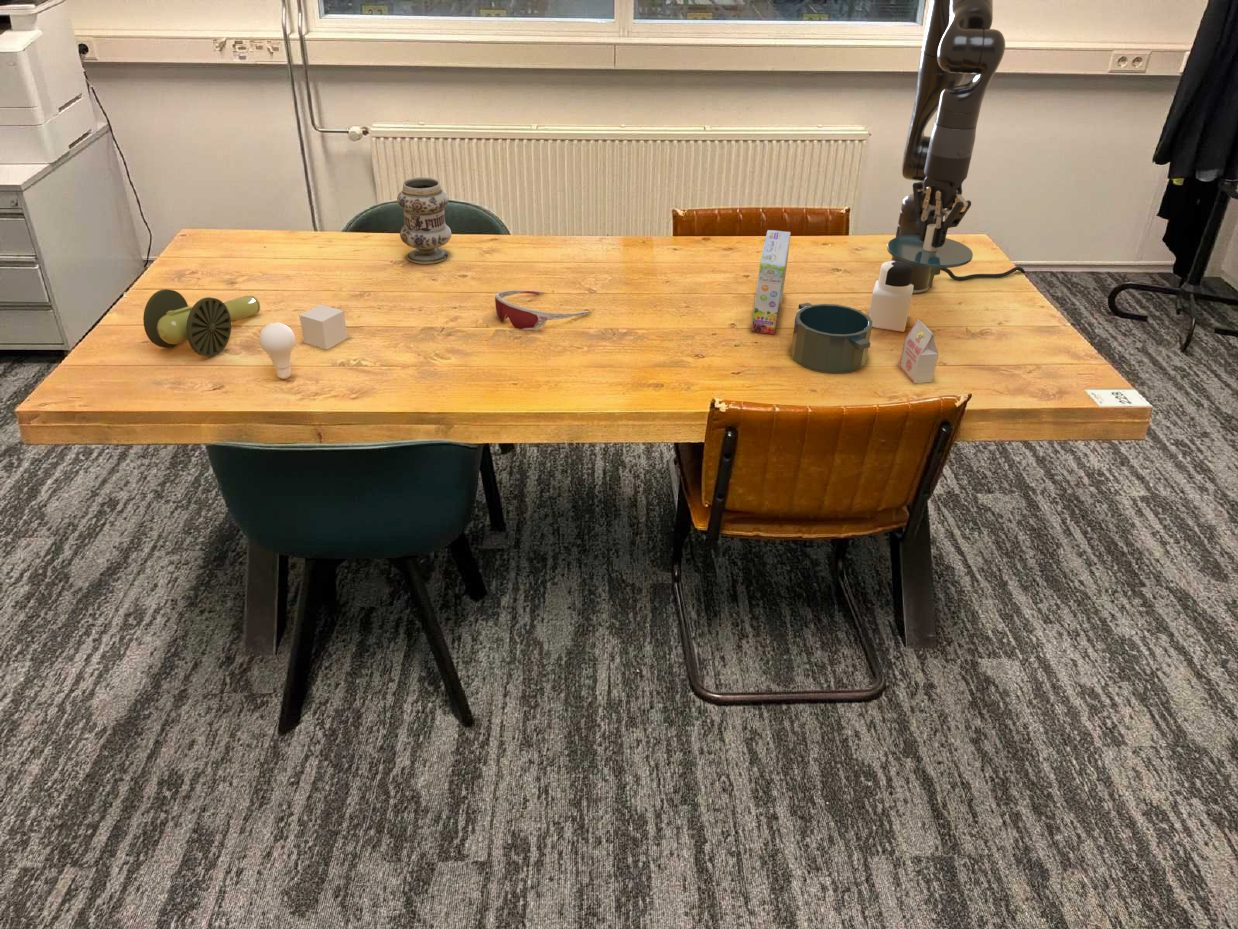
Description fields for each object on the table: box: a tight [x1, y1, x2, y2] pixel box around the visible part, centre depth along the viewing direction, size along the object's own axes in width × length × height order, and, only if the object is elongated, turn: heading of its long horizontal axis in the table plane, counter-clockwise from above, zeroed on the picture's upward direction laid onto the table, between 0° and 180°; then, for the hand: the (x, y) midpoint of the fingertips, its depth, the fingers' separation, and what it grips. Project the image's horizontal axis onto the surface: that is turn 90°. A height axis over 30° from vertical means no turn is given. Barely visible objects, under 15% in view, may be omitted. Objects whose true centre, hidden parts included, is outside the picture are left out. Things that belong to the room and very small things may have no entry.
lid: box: [886, 224, 974, 269], centre depth 177 cm, size 16×16×6 cm
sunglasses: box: [494, 289, 589, 331], centre depth 200 cm, size 17×17×5 cm
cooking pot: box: [790, 302, 873, 374], centre depth 185 cm, size 15×20×8 cm
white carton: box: [898, 318, 939, 384], centre depth 179 cm, size 4×7×10 cm, turn 9°
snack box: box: [750, 229, 792, 335], centre depth 199 cm, size 21×6×15 cm, turn 168°
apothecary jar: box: [396, 177, 452, 265], centre depth 222 cm, size 12×12×18 cm
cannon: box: [142, 288, 261, 358], centre depth 186 cm, size 25×12×11 cm, turn 160°
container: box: [868, 260, 914, 333], centre depth 197 cm, size 8×8×13 cm
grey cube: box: [298, 304, 349, 350], centre depth 188 cm, size 6×6×6 cm
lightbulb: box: [258, 322, 296, 380], centre depth 173 cm, size 6×6×11 cm
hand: (931, 243), depth 178 cm, fingers closed on lid, 2 cm apart
